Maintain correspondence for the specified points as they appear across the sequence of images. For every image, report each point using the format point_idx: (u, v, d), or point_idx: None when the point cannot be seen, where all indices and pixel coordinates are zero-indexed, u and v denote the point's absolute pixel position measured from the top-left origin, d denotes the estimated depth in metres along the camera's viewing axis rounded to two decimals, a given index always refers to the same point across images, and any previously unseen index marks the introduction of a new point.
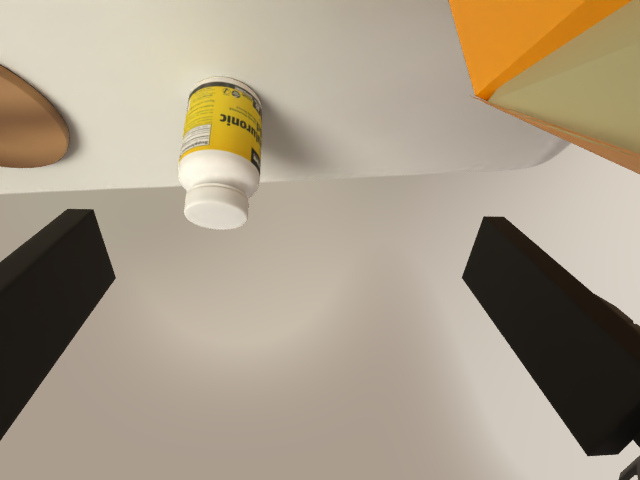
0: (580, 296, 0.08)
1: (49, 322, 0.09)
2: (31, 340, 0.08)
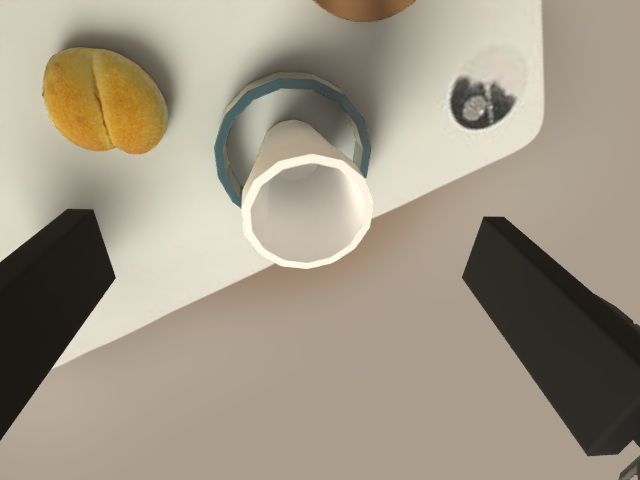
0: (580, 296, 0.08)
1: (49, 322, 0.09)
2: (31, 340, 0.08)
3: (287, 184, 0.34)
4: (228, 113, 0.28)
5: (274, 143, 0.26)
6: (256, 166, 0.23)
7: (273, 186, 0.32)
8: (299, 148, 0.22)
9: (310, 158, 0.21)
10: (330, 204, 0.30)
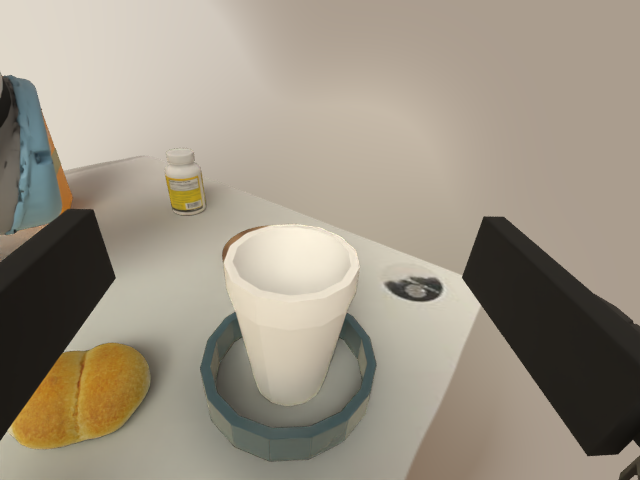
0: (580, 296, 0.08)
1: (49, 322, 0.09)
2: (31, 339, 0.08)
3: None
4: (211, 336, 0.30)
5: None
6: None
7: None
8: None
9: (270, 227, 0.27)
10: None
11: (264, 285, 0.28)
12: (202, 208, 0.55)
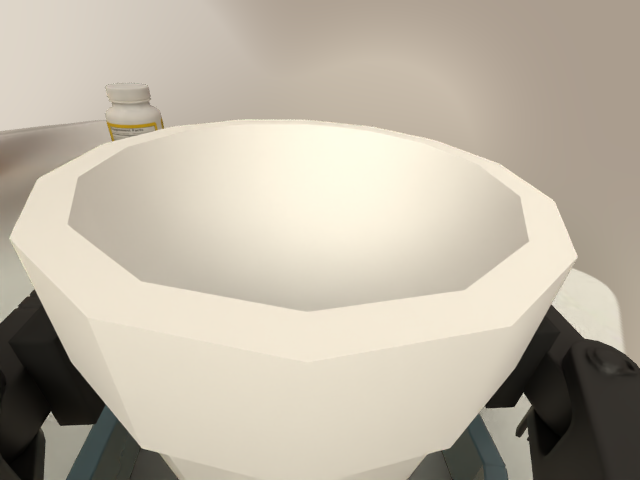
0: None
1: None
2: None
3: None
4: None
5: None
6: None
7: None
8: None
9: (242, 121, 0.10)
10: None
11: (231, 278, 0.12)
12: None
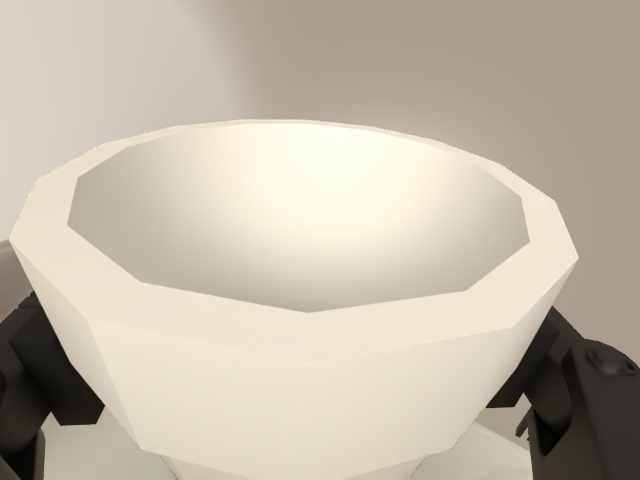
0: None
1: None
2: None
3: None
4: None
5: None
6: None
7: None
8: None
9: (242, 121, 0.10)
10: None
11: (231, 278, 0.12)
12: None
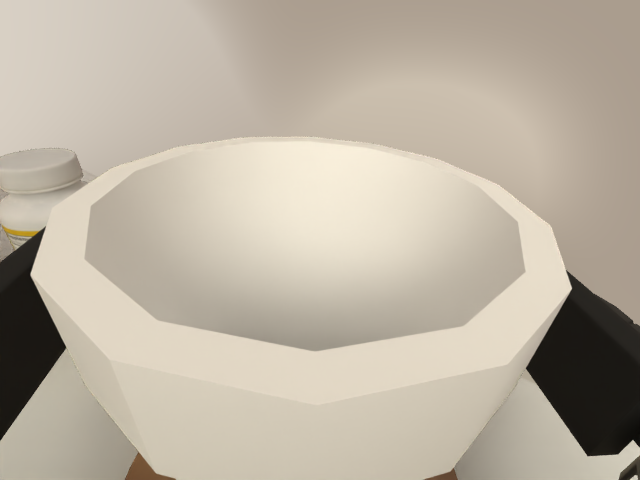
0: (580, 296, 0.08)
1: (49, 322, 0.09)
2: (31, 339, 0.08)
3: None
4: None
5: None
6: None
7: None
8: None
9: (246, 140, 0.10)
10: None
11: (235, 290, 0.12)
12: None
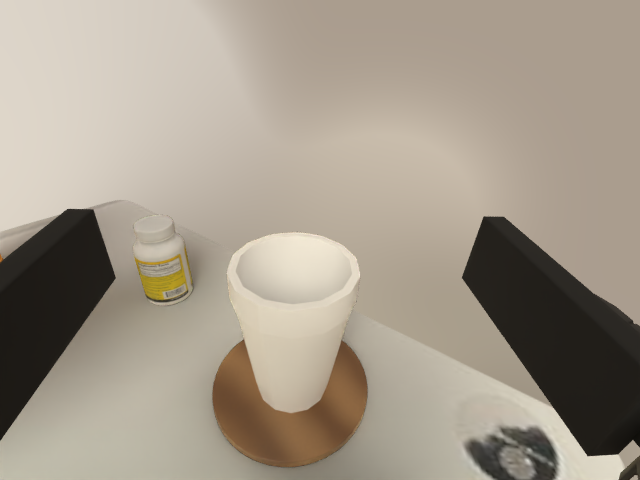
0: (580, 296, 0.08)
1: (49, 322, 0.09)
2: (31, 340, 0.08)
3: None
4: None
5: None
6: None
7: None
8: None
9: (272, 236, 0.27)
10: None
11: (266, 293, 0.29)
12: (187, 293, 0.40)
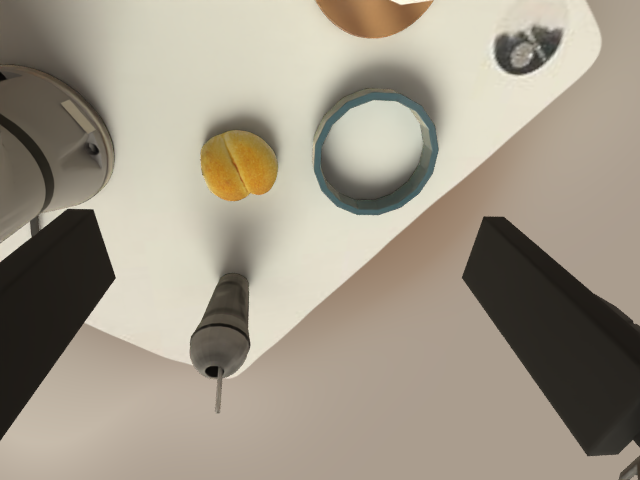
0: (580, 296, 0.08)
1: (49, 322, 0.09)
2: (31, 340, 0.08)
3: None
4: (317, 141, 0.38)
5: None
6: None
7: None
8: None
9: None
10: None
11: None
12: None
